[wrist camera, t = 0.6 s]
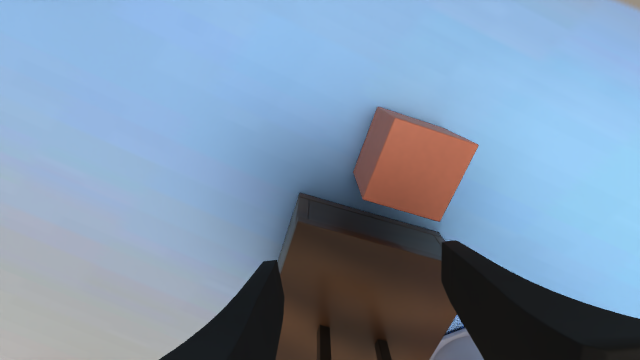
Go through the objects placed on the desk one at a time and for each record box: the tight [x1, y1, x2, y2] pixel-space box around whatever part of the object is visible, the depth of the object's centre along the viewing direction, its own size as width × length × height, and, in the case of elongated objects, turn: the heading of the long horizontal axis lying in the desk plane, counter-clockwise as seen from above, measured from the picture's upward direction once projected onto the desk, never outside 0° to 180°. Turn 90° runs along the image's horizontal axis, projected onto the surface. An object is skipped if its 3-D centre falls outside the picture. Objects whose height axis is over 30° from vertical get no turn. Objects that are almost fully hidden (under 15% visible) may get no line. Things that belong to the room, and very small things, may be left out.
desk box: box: [278, 193, 445, 272], centre depth 23 cm, size 11×12×5 cm
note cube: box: [353, 107, 478, 222], centre depth 19 cm, size 5×5×5 cm
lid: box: [276, 216, 457, 360], centre depth 17 cm, size 11×12×6 cm
